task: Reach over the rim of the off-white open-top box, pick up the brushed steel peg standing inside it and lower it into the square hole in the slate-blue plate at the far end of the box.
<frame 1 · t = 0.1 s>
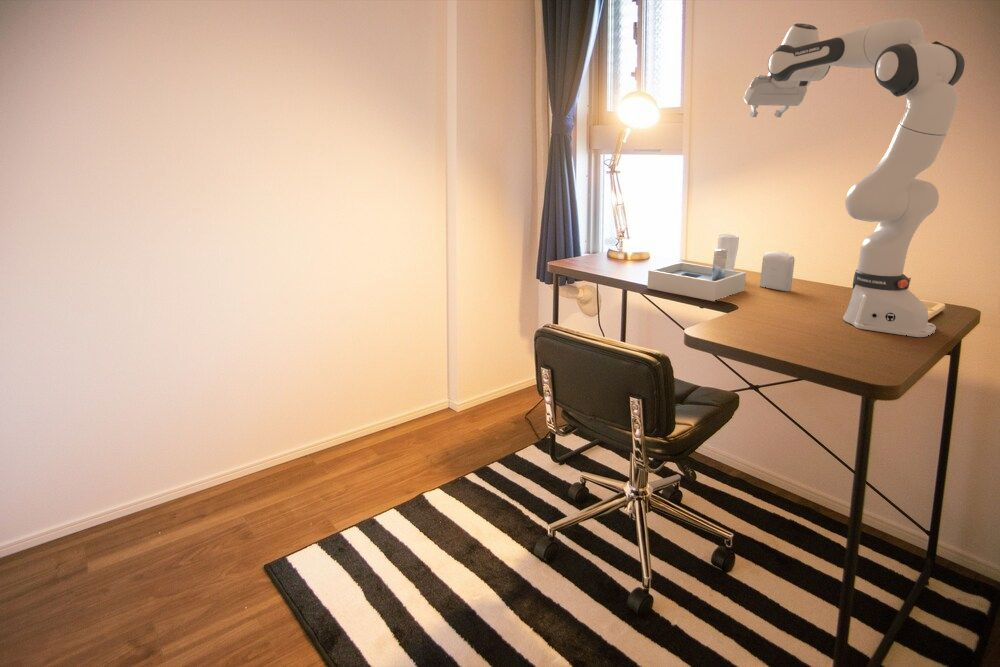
hand: (765, 116, 233), 54 cm above the table, tool tilted 30°, fingers open, 8 cm apart
drinking glass: (724, 279, 249), on the table
box: (695, 289, 234), on the table
peg: (717, 280, 231), point 3 cm above the table, touching box
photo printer: (775, 289, 236), on the table
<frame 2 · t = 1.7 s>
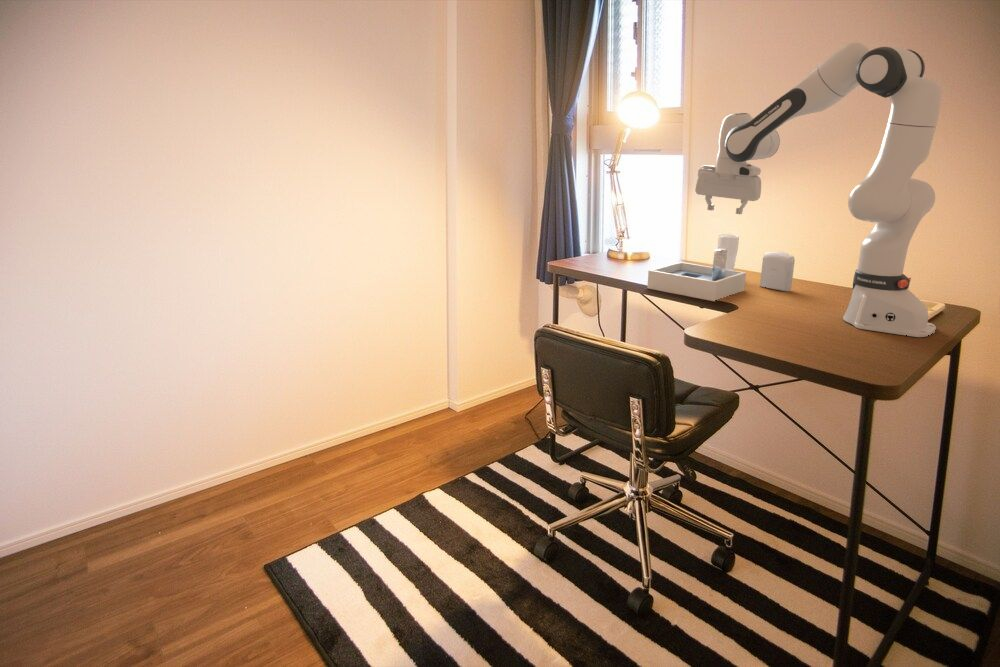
hand: (724, 212, 226), 25 cm above the table, tool pointing down, fingers open, 8 cm apart
nothing on the table moved.
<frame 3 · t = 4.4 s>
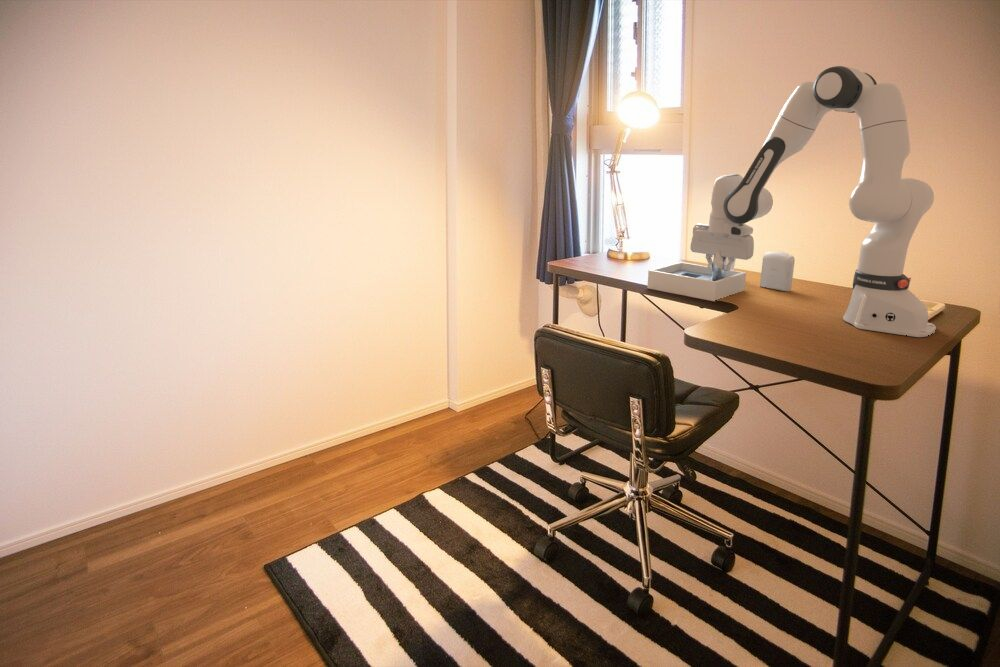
hand: (719, 269, 230), 7 cm above the table, tool pointing down, fingers closed on peg, 4 cm apart
peg: (717, 280, 231), point 4 cm above the table, touching box, gripper
everything else where it was.
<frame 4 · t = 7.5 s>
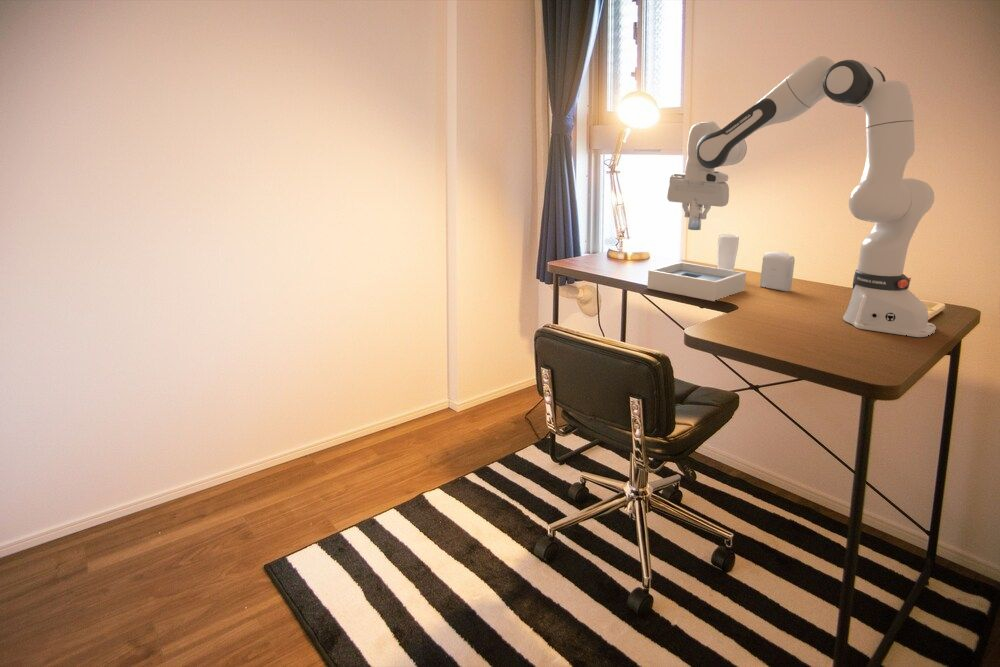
hand: (695, 218, 232), 23 cm above the table, tool pointing down, fingers closed on peg, 4 cm apart
peg: (694, 229, 233), point 19 cm above the table, touching gripper
everything else where it was.
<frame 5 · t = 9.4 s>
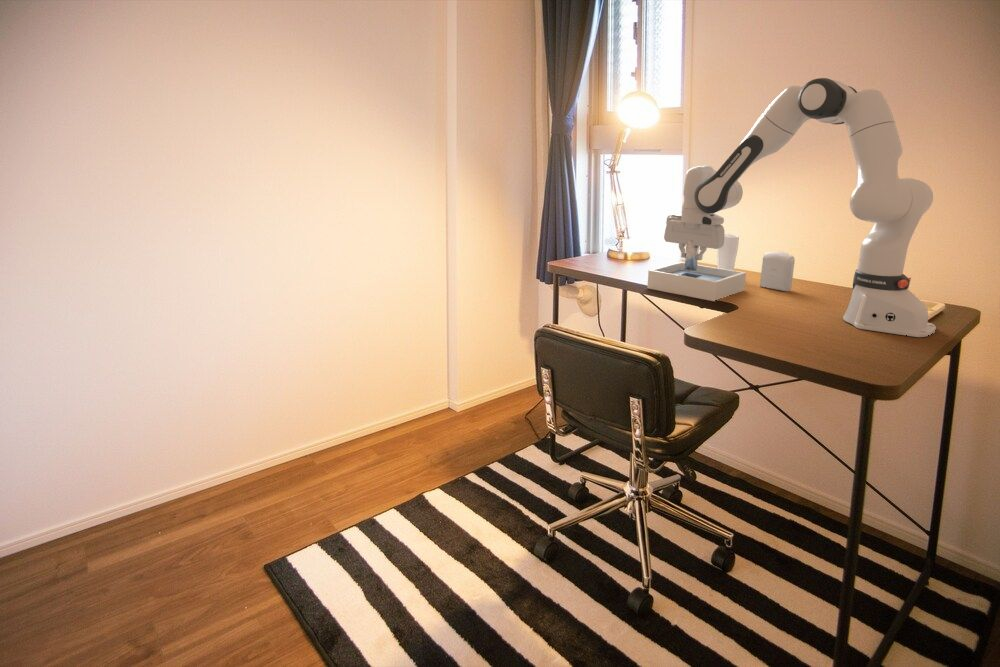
hand: (691, 258, 236), 9 cm above the table, tool pointing down, fingers closed on peg, 4 cm apart
peg: (690, 269, 237), point 6 cm above the table, touching gripper
everything else where it was.
when the fingers open (5 cm above the table, at t = 10.6 s): peg stays where it is, resting in box.
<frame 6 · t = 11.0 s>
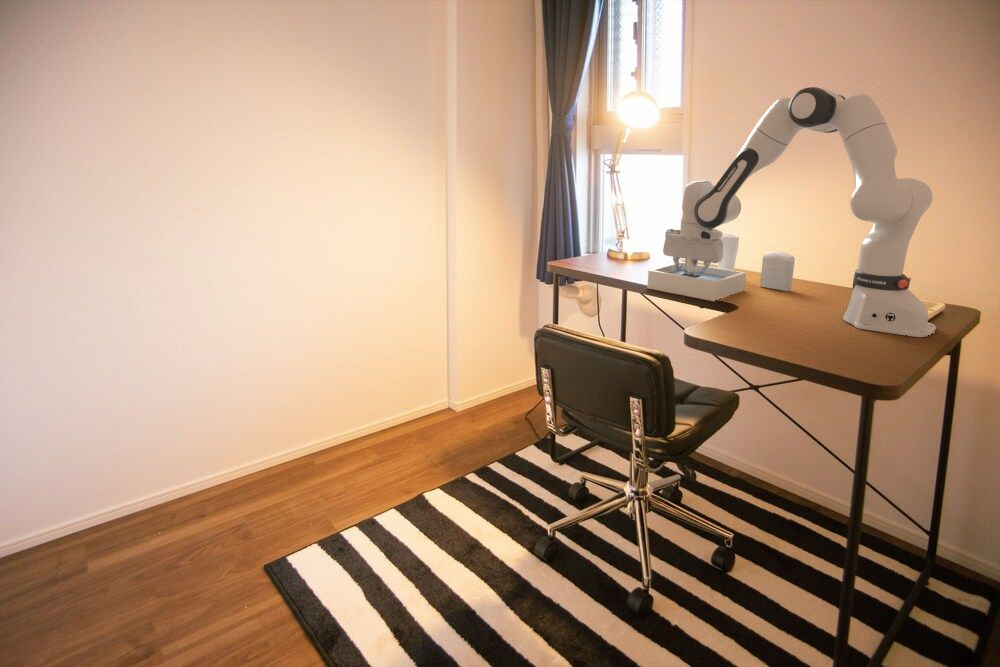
hand: (690, 272, 237), 5 cm above the table, tool pointing down, fingers open, 8 cm apart
peg: (689, 285, 238), resting in box
everything else where it was.
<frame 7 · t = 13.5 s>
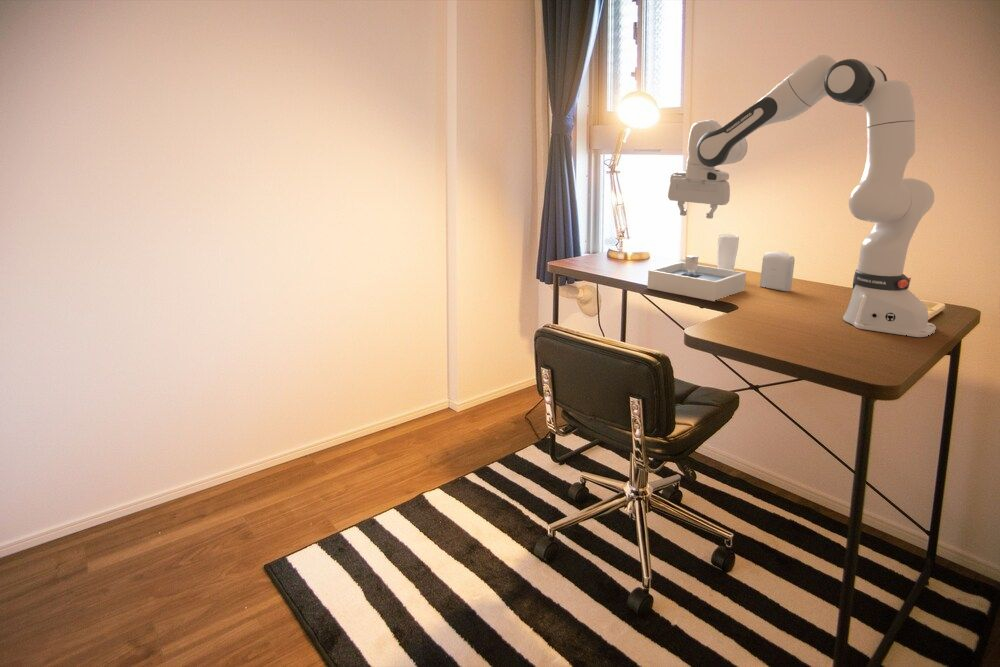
hand: (696, 216, 231), 23 cm above the table, tool pointing down, fingers open, 8 cm apart
nothing on the table moved.
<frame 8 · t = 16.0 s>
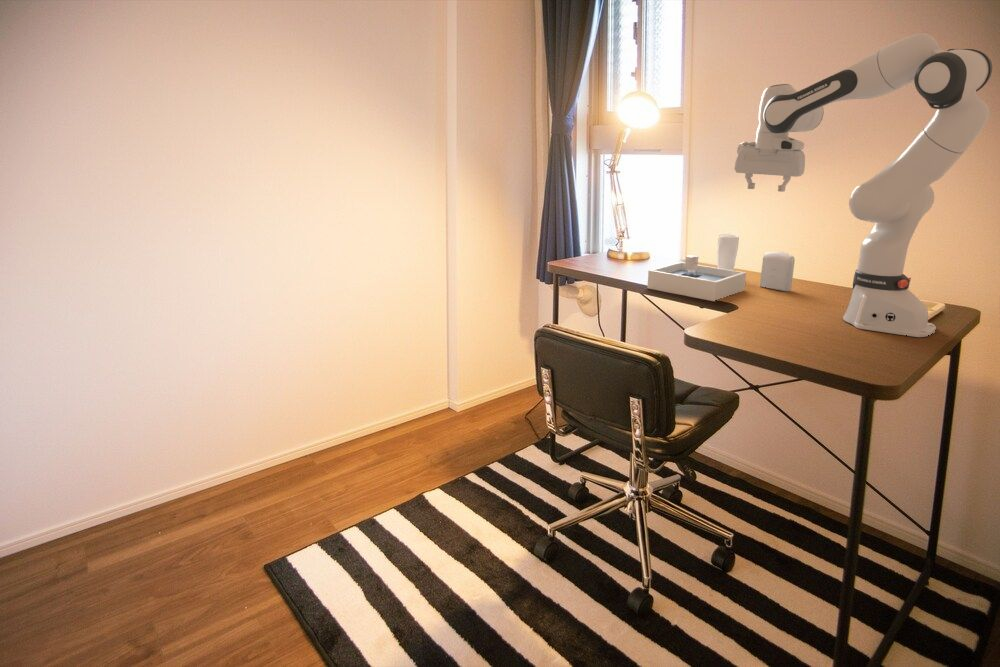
hand: (765, 190, 215), 33 cm above the table, tool pointing down, fingers open, 8 cm apart
nothing on the table moved.
at the end: peg 0.1 cm from the target spot on the box, point 0.0 cm above the box's base; peg tilted 0°; the gripper is holding nothing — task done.
